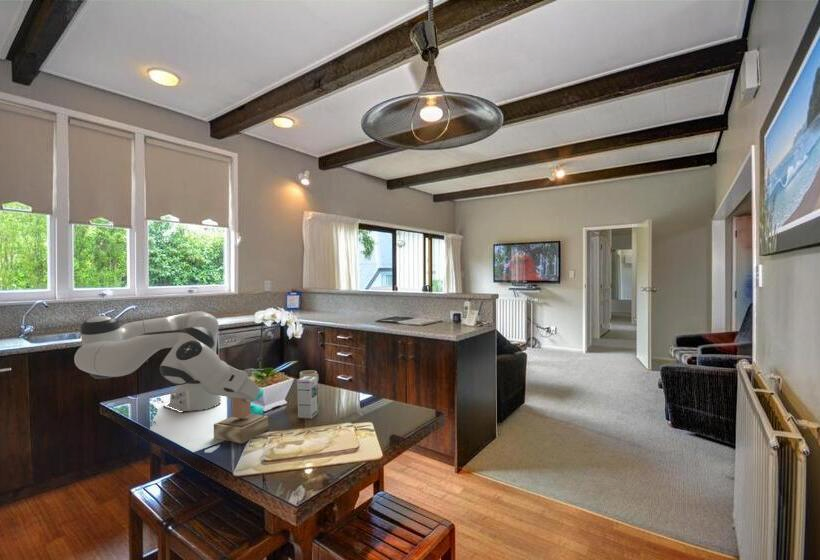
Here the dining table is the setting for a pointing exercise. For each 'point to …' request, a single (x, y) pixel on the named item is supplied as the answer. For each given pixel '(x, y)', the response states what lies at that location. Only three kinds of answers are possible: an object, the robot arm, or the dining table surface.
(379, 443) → the dining table surface
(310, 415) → the syrup box
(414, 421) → the dining table surface
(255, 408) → the donuts
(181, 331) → the robot arm
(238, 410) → the terracotta block
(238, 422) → the plinth
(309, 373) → the character mug
